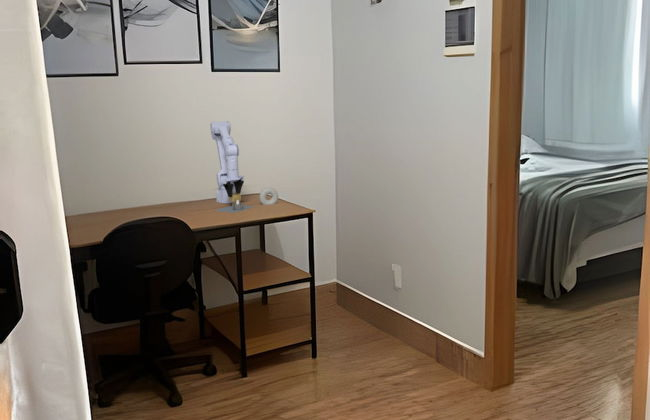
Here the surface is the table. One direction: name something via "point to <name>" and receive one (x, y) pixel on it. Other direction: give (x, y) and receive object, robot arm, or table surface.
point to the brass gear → (235, 197)
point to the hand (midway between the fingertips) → (234, 195)
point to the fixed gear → (237, 206)
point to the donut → (265, 192)
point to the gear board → (230, 209)
